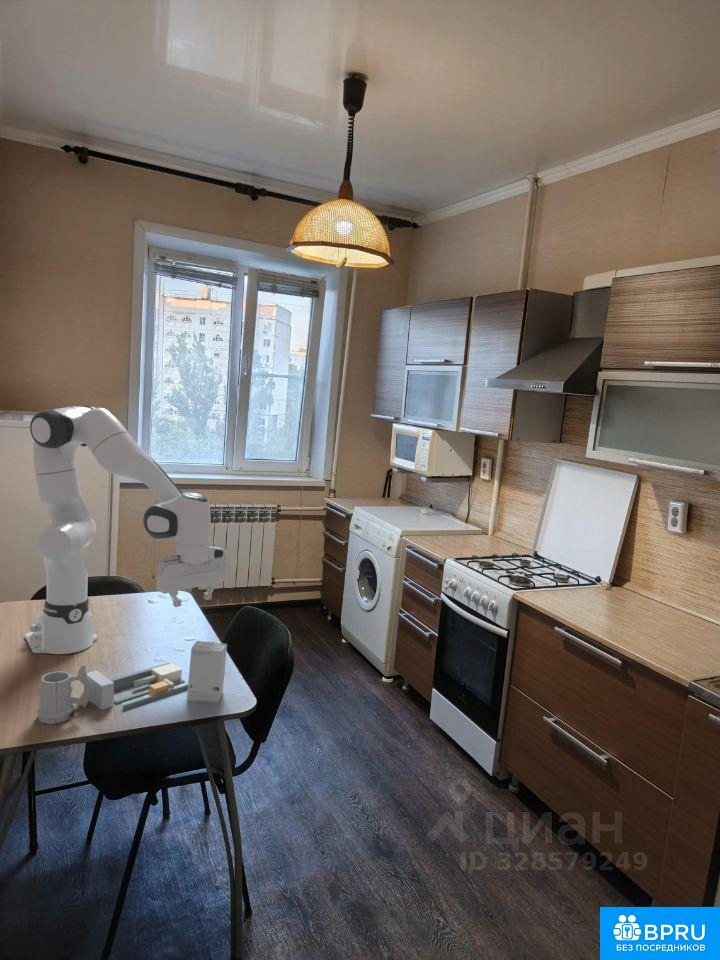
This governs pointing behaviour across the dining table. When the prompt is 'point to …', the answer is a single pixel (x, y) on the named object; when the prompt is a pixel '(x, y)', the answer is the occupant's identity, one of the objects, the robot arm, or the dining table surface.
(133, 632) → the dining table surface
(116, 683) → the base
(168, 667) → the cream block with rods
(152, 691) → the orange rectangular block
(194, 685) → the skincare box
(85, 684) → the mug
